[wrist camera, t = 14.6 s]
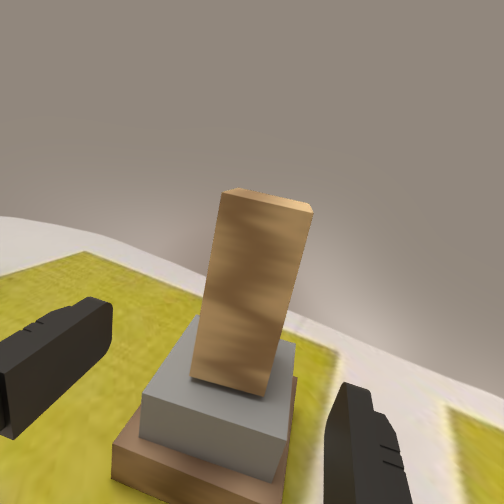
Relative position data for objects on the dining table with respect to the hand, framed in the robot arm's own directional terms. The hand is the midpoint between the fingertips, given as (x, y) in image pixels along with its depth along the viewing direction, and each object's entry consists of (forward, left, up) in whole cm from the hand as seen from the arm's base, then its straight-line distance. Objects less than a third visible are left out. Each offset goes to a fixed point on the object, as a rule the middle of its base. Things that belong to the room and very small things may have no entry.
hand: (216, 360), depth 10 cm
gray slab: (+1, -9, -13) cm, 16 cm away
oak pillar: (+1, -9, -8) cm, 13 cm away
